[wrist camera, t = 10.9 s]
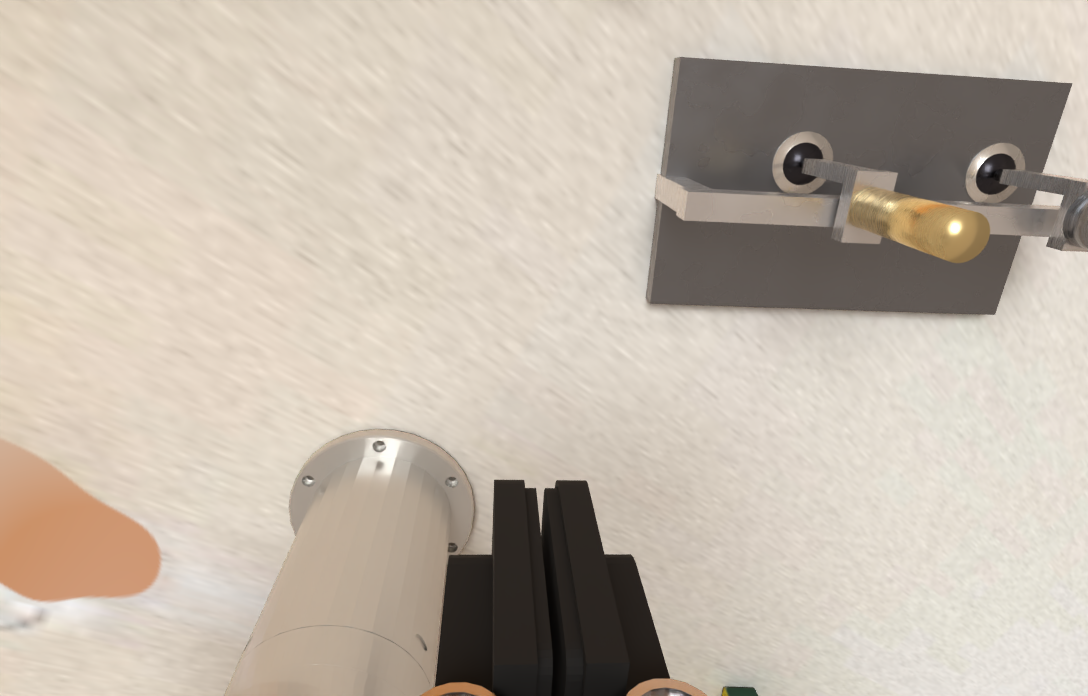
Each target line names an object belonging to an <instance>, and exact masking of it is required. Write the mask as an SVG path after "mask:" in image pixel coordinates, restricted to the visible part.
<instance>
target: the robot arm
mask: <svg viewBox="0 0 1088 696" xmlns="http://www.w3.org/2000/svg"><path fill="white" fill-rule="evenodd" d="M379 441H383V442H379ZM452 477H453V478H452ZM289 513H290V522H291V525H292V528H293V530H294V533H295V536H296V537H295V539H294V541H293V544H292V546H291V548H290V550H289V552H288V555H287V557H286V559H285V561H284V563H283V566H282V568H281V570H280V572H279V575H278V577H277V579H276V581H275V583H274V586H273V588H272V590H271V592H270V594H269V597H268V599H267V601H266V603H265V606H264V608H263V610H262V612H261V614H260V617H259V619H258V621H257V623H256V625H255V628H254V630H253V632H252V634H251V636H250V639H249V641H248V643H247V645H246V648H245V650H244V652H243V654H242V657H241V659H240V661H239V663H238V665H237V668H236V670H235V672H234V674H233V677H232V679H231V681H230V683H229V685H228V688H227V690H226V693H225V695H224V696H707V695H706V694H705V693H703V692H702V691H701V690H699V689H697V688H695V687H693V686H691V685H689V684H687V683H685V682H681V681H677V680H673V679H670V677H669V673H668V670H667V667H666V663H665V660H664V656H663V653H662V650H661V646H660V643H659V640H658V636H657V633H656V630H655V626H654V623H653V620H652V616H651V613H650V609H649V606H648V603H647V599H646V596H645V593H644V589H643V586H642V583H641V579H640V576H639V573H638V569H637V566H636V563H635V560H634V558H633V556H632V555H604V551H603V547H602V542H601V538H600V534H599V530H598V525H597V521H596V517H595V513H594V508H593V504H592V500H591V496H590V491H589V487H588V483H587V481H570V480H557V481H556V484H555V488H545V490H544V501H543V516H542V531H541V533H540V523H539V513H538V503H537V493H536V488H525V483H524V480H494V504H493V535H492V555H459V553H460V552H461V550H462V549H463V547H464V546H465V544H466V543H467V540H468V538H469V535H470V532H471V530H472V524H473V517H474V500H473V495H472V490H471V486H470V484H469V482H468V480H467V478H466V475H465V473H464V472H463V471H462V469H461V468H460V466H459V465H458V464H457V462H456V461H455V460H454V459H453V458H452V457H451V456H449V455H448V454H447V453H446V452H445V451H444V450H443V449H441V448H440V447H438V446H436V445H435V444H433V443H431V442H430V441H428V440H426V439H423V438H421V437H418V436H416V435H413V434H410V433H405V432H401V431H396V430H383V429H373V430H364V431H357V432H354V433H350V434H347V435H343V436H341V437H339V438H337V439H335V440H333V441H331V442H329V443H327V444H325V445H324V446H323V447H321V448H320V449H319V450H317V451H316V452H315V453H313V455H312V456H311V457H310V458H309V459H308V460H307V462H306V463H305V464H304V465H303V467H302V469H301V470H300V472H299V474H298V476H297V478H296V480H295V482H294V485H293V488H292V490H291V494H290V501H289ZM447 565H448V566H447ZM446 566H447V576H446V585H445V595H444V605H443V615H442V625H441V634H440V644H439V654H438V664H437V673H436V683H435V687H433V686H434V676H435V667H436V657H437V648H438V638H439V629H440V619H441V610H442V600H443V591H444V581H445V572H446Z"/></svg>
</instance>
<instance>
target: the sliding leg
mask: <svg viewBox="0 0 1088 696" xmlns="http://www.w3.org/2000/svg"><path fill="white" fill-rule="evenodd" d="M801 168H802V173H804V174H808V175H812V176H815V177H819V178H823V179H827V180H831V181H835V182H838V183H842V184H843V187H842V192H841V196H840V201H839V205H838V210H837V214H836V219H835V223H834V227H833V232H832V236H831V238H832V239H834V240H837V241H839V242H843V243H866V244H880V242H881V238H882V237H885V238H887V239H890V240H893V241H895V242H898V243H901V244H903V245H906V246H909V247H911V248H914V249H917V250H920V251H922V252H925V253H928V254H930V255H933V256H936V257H938V258H941V259H944V260H947V261H949V262H952V263H963V262H967V261H969V260H971V259H973V258H975V257H976V256H977V255H978V254H980V253H981V251H982V250H983V249H984V248H985V246H986V244H987V242H988V240H989V236H990V225H989V222H988V220H987V218H986V217H985V216H984V215H982V214H981V213H979V212H975V211H971V210H967V209H963V208H959V207H955V206H951V205H947V204H943V203H938V202H934V201H930V200H926V199H922V198H918V197H914V196H910V195H906V194H902V193H898V192H894V187H895V183H896V179H897V175H898V173H896V172H891V171H886V170H875V169H870V168H865V167H860V166H855V165H850V164H845V163H840V162H835V161H830V160H825V159H809V158H804V160H803V161H802V163H801Z"/></svg>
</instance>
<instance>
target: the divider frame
mask: <svg viewBox="0 0 1088 696" xmlns="http://www.w3.org/2000/svg"><path fill="white" fill-rule="evenodd" d="M994 179H995V180H996V181H1000V182H999V183H1000V184H1006V185H1011V186H1017V187H1022V188H1028V189H1034V190H1039V191H1045V192H1050V193H1056V194H1062V195H1064V197H1063V200H1062V203H1061V206H1047V205H1027V204H1006V203H986V202H966V201H945V200H930V201H934V202H938V203H943V204H947V205H951V206H955V207H959V208H963V209H967V210H971V211H975V212H979V213H981V214H982V215H984V216H985V217H986V218H987V220H988V222H989V225H990V234H998V235H1020V236H1043V237H1049V240H1048V242H1047V245H1046V246H1047V247H1051V248H1054V249H1058V250H1061V251H1082V252H1088V180H1087V179H1080V178H1073V177H1066V176H1059V175H1052V174H1045V173H1039V172H1032V171H1025V170H1010V169H999V170H997V171H996V172H995V174H994ZM840 196H841V195H823V194H803V193H782V192H762V191H742V190H721V189H711V188H709V187H706V186H704V185H702V184H700V183H697V182H695V181H693V180H691V179H688V178H686V177H666V176H664V175H662V174H657V183H656V191H655V198H656V199H657V200H659V201H660V202H662V203H664V204H665V205H667V206H668V207H670V208H671V209H673V210H674V211H676V216H678V217H679V218H681V219H682V220H684V221H706V222H729V223H751V224H773V225H796V226H818V227H834V223H835V219H836V214H837V210H838V205H839V201H840Z"/></svg>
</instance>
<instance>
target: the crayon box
mask: <svg viewBox="0 0 1088 696" xmlns="http://www.w3.org/2000/svg"><path fill="white" fill-rule="evenodd" d="M722 696H758V695H757V693H756V690H755V689H754V688H748V687H723V690H722Z"/></svg>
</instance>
